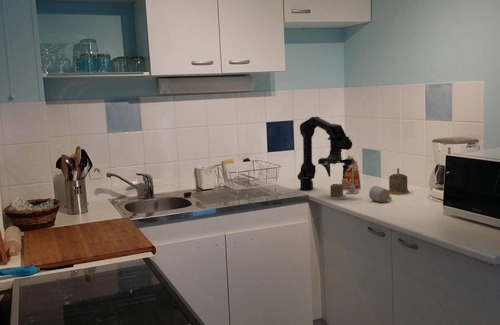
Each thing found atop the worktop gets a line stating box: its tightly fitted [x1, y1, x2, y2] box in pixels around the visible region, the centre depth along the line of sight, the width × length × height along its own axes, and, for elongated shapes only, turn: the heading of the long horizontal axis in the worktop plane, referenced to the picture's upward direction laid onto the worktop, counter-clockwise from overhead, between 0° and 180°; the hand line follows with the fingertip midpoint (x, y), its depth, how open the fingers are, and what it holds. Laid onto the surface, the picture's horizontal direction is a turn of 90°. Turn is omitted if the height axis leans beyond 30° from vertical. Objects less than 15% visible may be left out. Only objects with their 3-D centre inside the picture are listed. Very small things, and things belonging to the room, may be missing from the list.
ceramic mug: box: [368, 185, 392, 203], centre depth 264 cm, size 11×8×8 cm
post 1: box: [328, 194, 346, 199], centre depth 279 cm, size 7×7×6 cm
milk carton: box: [341, 155, 362, 192], centre depth 297 cm, size 9×9×20 cm
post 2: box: [345, 185, 360, 195], centre depth 287 cm, size 6×6×4 cm
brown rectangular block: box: [329, 183, 344, 197], centre depth 279 cm, size 5×5×6 cm
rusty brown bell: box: [387, 167, 410, 196], centre depth 285 cm, size 12×18×12 cm, turn 164°
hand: (336, 177), depth 278 cm, fingers open, 8 cm apart
